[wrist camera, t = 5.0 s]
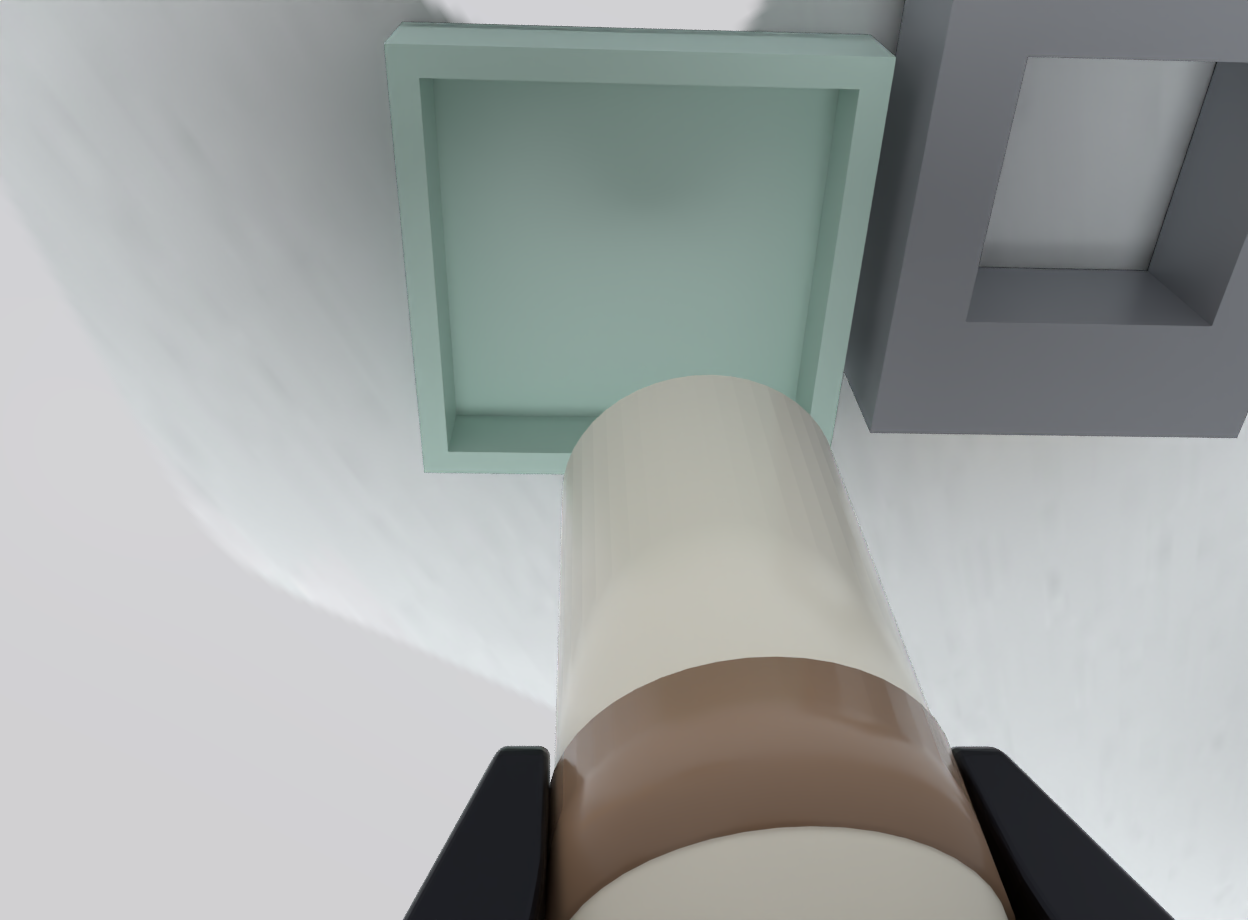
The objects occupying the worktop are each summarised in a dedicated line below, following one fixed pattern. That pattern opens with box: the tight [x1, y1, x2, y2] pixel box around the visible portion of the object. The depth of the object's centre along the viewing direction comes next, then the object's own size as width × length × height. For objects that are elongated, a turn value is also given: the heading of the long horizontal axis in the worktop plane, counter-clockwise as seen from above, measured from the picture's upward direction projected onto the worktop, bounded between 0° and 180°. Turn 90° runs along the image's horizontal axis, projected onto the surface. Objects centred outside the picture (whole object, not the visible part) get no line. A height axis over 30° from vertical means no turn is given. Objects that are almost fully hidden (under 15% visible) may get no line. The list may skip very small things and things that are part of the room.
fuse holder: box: [844, 0, 1248, 438], centre depth 18 cm, size 9×7×2 cm
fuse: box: [545, 375, 1015, 920], centre depth 8 cm, size 3×3×8 cm
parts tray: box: [384, 22, 896, 474], centre depth 19 cm, size 8×8×2 cm
